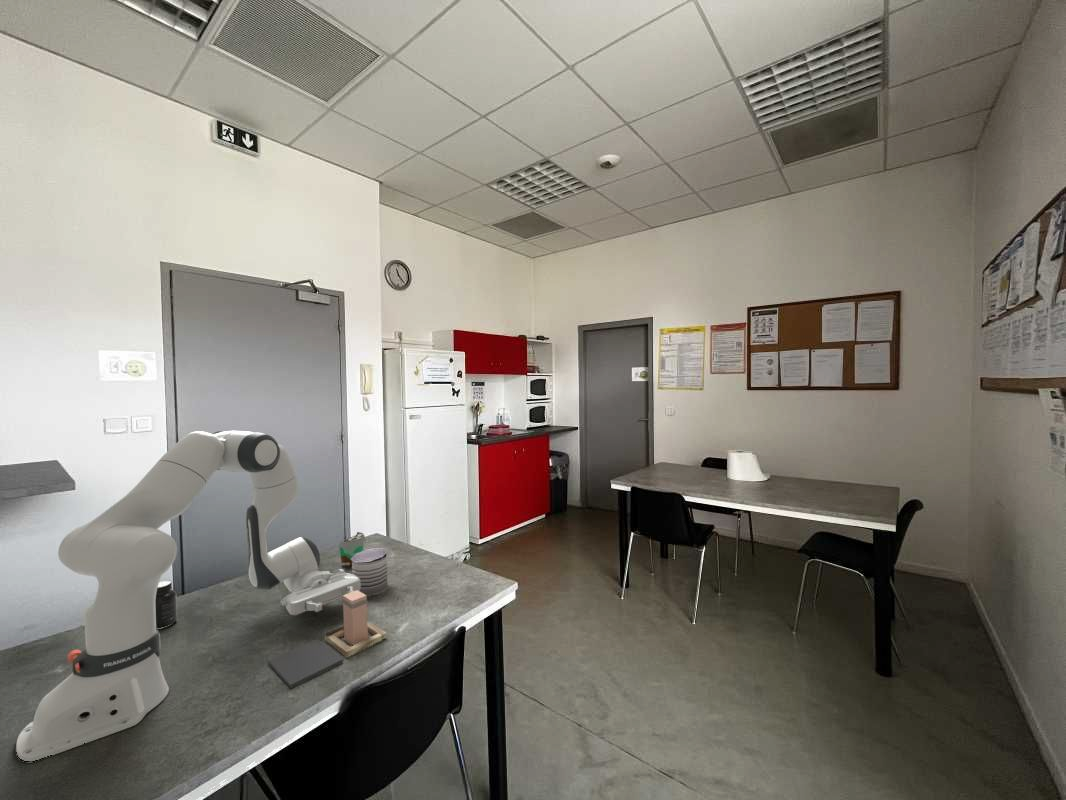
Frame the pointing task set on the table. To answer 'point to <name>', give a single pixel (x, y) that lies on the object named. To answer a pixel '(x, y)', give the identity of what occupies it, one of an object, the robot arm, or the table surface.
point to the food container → (351, 548)
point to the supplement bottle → (165, 604)
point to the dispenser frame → (348, 651)
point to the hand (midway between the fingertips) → (336, 601)
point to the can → (371, 570)
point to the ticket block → (355, 617)
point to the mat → (304, 662)
